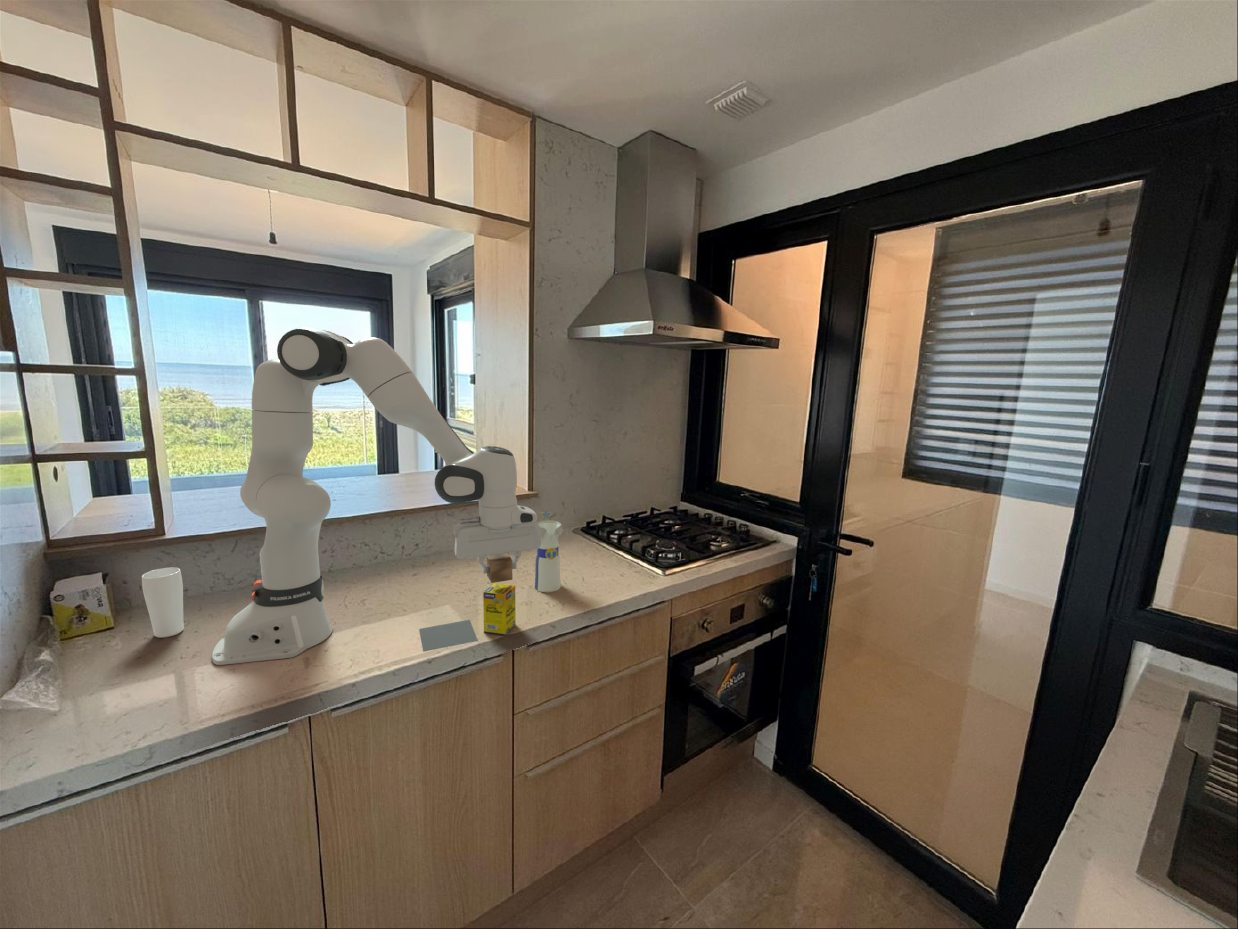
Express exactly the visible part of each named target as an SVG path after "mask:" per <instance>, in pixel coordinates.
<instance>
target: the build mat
mask: <svg viewBox="0 0 1238 929" xmlns="http://www.w3.org/2000/svg"><path fill="white" fill-rule="evenodd" d="M418 632H419V636H420V641H421V648H422V651H423V652H427V651H433V650H438V649H443V648H447V647H452V646H458V645H462V644H467V643H472V642H477V641H479V639H478V637H477V635H476V632H475V630H474V627H473V624H472V622H471V620H470V619H466V620H459V621H456V622H455V621H454V622H450V623H444V624H439V625H438V624H437V625H433V626H428V627H423V628H418Z"/></svg>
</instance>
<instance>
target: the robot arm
mask: <svg viewBox="0 0 1238 929" xmlns="http://www.w3.org/2000/svg"><path fill="white" fill-rule="evenodd" d="M276 351H277V353H276V354H277V358H274V359H269V360H265V361H264V362H261V363H260V364H259V365H258V366H257V368H256V369H255V373H254V377H253V384H252V391H251V436H252V437H251V439H252V440H251V441H252V442H251V453H250V458H249V463H248V466H247V467H248V468H247V472H246V477H245V480H243V483H242V484H241V487H240V494H239V495H240V499H241V501H242V503H243V504H244V505H245V507H246V508H247V509H248V510H249V511H250V512H251V513H252V514H254V515H255V516H258V517H261V518H263V519H264V521H265V523H266V524H265V526H266V528H265V529H266V531H265V537H264V542H263V545H262V547H261V548H260V550H259V553H258V554H259V563H260V573H261V579H258V580H256V581H255V582H254V583H253V586H252V590H251V599H252V602H250V603H249V604H248V605H247V606H245V607H244V608H243V609H242V610H241V611H239V612H238V613H236V614H235V615H234V616H233V617H232V618H231V620H229V622H228V624H227V626H226V628H225V632H224V637H222V638H221V639H220V640H219V641H218V642H217V644H216V645H215V646H214V648H213V651H212V654H211V661H212V662H213V664H215V665H217V666H221V665H232V664H240V663H241V664H242V663H252V662H261V661H270V660H280V659H289V658H293V657H294V658H295V657H296V656H298V655H300V654H301V653H303V652H304V651H306V650H308V649H310V648H312V647H314V646H316V645H318V644H321V643H322V642H324V641H325V640H326V639H328V638H329V637H330V636H331V634H332V632H333V627H332V625H331V623H330V621H329V617H328V615H327V612H326V607H325V603H324V598H325V587H324V586H325V585H324V580H323V575H322V574H321V572H320V571H321V570H320V556H319V539H320V533H321V528H322V524H323V522H324V520H325V519H326V518H327V516H328V514H329V512H330V511H331V510H330V509H331V503H332V502H331V497H330V495H329V493H328V492H327V490H326V489H324V488H323V487H322V486H321V485H320V484H318V483H317V482H316V481H314V480H312V479H311V478H306V477H304V476H303V473H304V469H305V468H304V467H305V463H306V461H307V457H308V455H309V453H310V452H311V451H312V449H313V445H314V424H313V423H314V422H313V421H314V419H313V417H314V416H313V415H314V414H313V412H314V411H313V410H314V409H313V398H314V397H313V395H314V392H315V389H316V388H317V387H318V386H321V387H325V386H329V385H333V384H338V383H343V382H346V381H348V380H352V381H354V382H355V384H357V386H359V388H360V389H361V391H362V392H363V393H364V395H365V396H366V398H367V399H368V400H369V402H370V403H371V405H372V406H373V407H374V408H375V409H376V411H377V412H379V414H380V415H382V417H384V418H385V419H386V420H387V421H388V422H390V423H392V424H395V425H397V426H398V425H399V426H403V427H405V428H409V429H411V430H414V431H416V432H417V433H419V434H420V435H421V436H423V437H424V438H425V439H426V440H427V441H428V443H429V444H430V445H431V446H432V447H433V449H434V450H435V451H436V453H437V454H438V455H439V456H440V457H441V459H442V461H443V462H444V463H445V465H444V466H442V467H441V468H440V469H439V470H438V471H437V473H436V475H435V478H434V488H435V489H434V490H435V491H436V493H437V495H438V496H439V497H440V498H441V499H442V500H443V501H445V502H447V503H449V504H464V503H471V502H473V501H474V502H475V501H478V516H475V517H469V518H460V519H459V520H457V521H456V522H454V524H453V525H452V526H453V527H452V534H453V537H454V554H455V557H456V558H457V559H459V560H467V559H472V558H473V559H474V558H476V559H477V561H478V562H479V563H480V565H481V571H482V574H487V573H490V570H489V569H490V566H489V564H487V563H484V561H485V560H486V559H485V557H487V556H490V555H497V554H504V553H507V554H512V553H513V555H514V556H513V557H512V558H511V559H512V570H515V569H517V563H518V561H519V560H520V558H521V556H522V552H525V551H533V550H537V549H539V547H540V546H541V542H542V541H541V531H540V527H539V525H538V522H537V520H538V514H537V513H536V512H535V511H534V510H533V509H531V508H530V507H529V506H524V505H518V498H517V496H516V494H517V493H516V492H517V491H516V490H517V487H518V477H517V475H518V472H517V463H516V459H515V456H514V454H513V453H512V452H511V451H510V450H509V449H506V448H504V447H501V446H493V445H492V446H491V445H487V446H481V448H480V449H478V450H477V451H475V452H474V451H472V450H471V449H470V448H469V447H468V446H466V444H465V443H464V442H463V440H462V439H461V438H460V436H458V434H457V433H456V431H455V430H454V429H453V428H452V426H451V425H450V424H449V423H448V421H447V420H446V419H445V418H444V416H443V415H442V414H441V413H440V411H439V410H438V409H437V407H436V406H435V404H434V403H433V401H432V399H431V398H430V397H429V395H428V394H427V392H426V391H425V389H424V387H423V386H422V384H421V383H420V381H419V379H418V377H417V376H416V375H415V373H414V372H413V371H412V369H411V368H410V366H408V364H407V363H406V362H405V361H404V359H403V358H402V357H401V356H400V355H399V354H398V352H397V351H396V350H394V348H393V347H392V346H391V345H389V343H387V342H386V341H385V340H383V338H379V337H364V338H361V339H360V340H358V341H356V342H352V341H351V340H350V339H348V338H347V337H344V336H342V335H339V334H336V333H335V332H332V331H329V330H325V329H323V330H322V329H321V330H320V329H317V328H312V327H298V328H294V329H291V330H289V331H287V332H286V333H284V334H283V335H282V336H281V338H280V339H279V341H278V344H277V349H276Z"/></svg>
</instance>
